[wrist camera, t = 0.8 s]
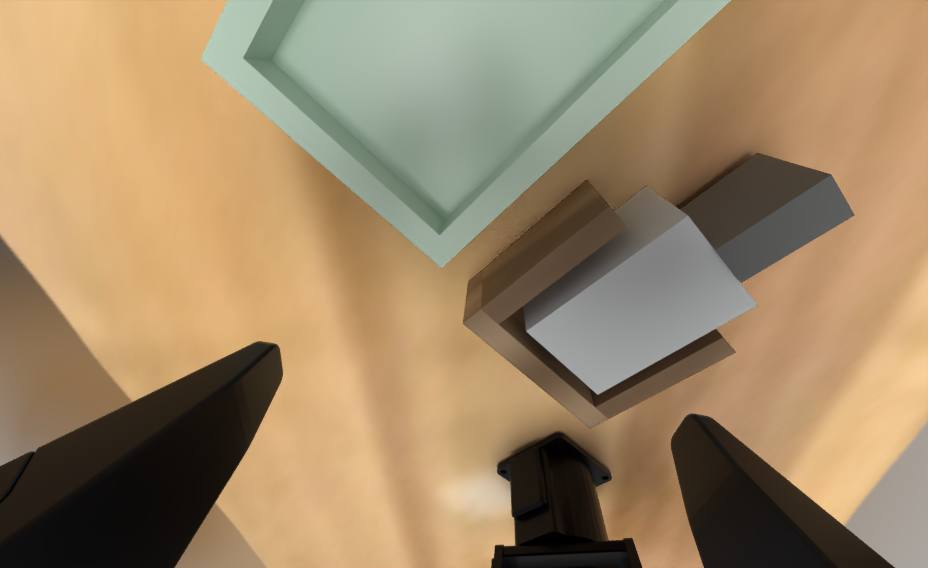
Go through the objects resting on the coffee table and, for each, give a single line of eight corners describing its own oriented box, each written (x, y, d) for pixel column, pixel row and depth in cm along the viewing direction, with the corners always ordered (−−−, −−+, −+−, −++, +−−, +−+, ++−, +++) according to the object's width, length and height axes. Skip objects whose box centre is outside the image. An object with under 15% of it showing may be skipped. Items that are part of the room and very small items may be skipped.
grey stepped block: (783, 207, 17) (873, 247, 13) (580, 339, 22) (599, 399, 18) (727, 120, 16) (809, 135, 12) (520, 283, 21) (526, 335, 17)
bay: (695, 305, 20) (736, 352, 17) (576, 377, 24) (590, 428, 20) (586, 179, 17) (609, 205, 14) (468, 282, 21) (462, 323, 17)
